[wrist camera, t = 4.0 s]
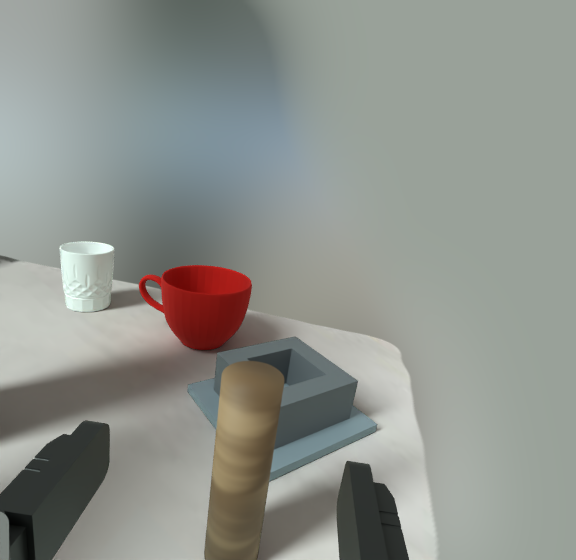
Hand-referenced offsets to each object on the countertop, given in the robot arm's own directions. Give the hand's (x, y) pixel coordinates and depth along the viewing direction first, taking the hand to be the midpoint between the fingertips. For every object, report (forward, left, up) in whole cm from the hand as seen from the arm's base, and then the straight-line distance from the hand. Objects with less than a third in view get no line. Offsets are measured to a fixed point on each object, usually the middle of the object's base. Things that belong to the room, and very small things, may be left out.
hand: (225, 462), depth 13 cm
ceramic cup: (+18, +42, -19) cm, 49 cm away
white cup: (+7, +59, -19) cm, 62 cm away
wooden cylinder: (+7, +9, -19) cm, 22 cm away
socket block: (+20, +21, -19) cm, 34 cm away
